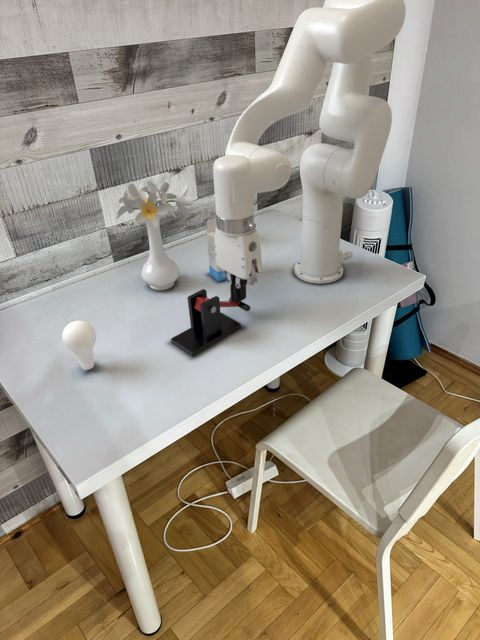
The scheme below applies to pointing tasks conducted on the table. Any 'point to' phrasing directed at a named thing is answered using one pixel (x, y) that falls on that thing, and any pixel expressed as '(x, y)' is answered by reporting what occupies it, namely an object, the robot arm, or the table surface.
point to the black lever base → (204, 325)
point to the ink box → (213, 252)
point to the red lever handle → (223, 304)
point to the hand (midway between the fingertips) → (238, 299)
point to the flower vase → (155, 228)
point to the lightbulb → (80, 342)
